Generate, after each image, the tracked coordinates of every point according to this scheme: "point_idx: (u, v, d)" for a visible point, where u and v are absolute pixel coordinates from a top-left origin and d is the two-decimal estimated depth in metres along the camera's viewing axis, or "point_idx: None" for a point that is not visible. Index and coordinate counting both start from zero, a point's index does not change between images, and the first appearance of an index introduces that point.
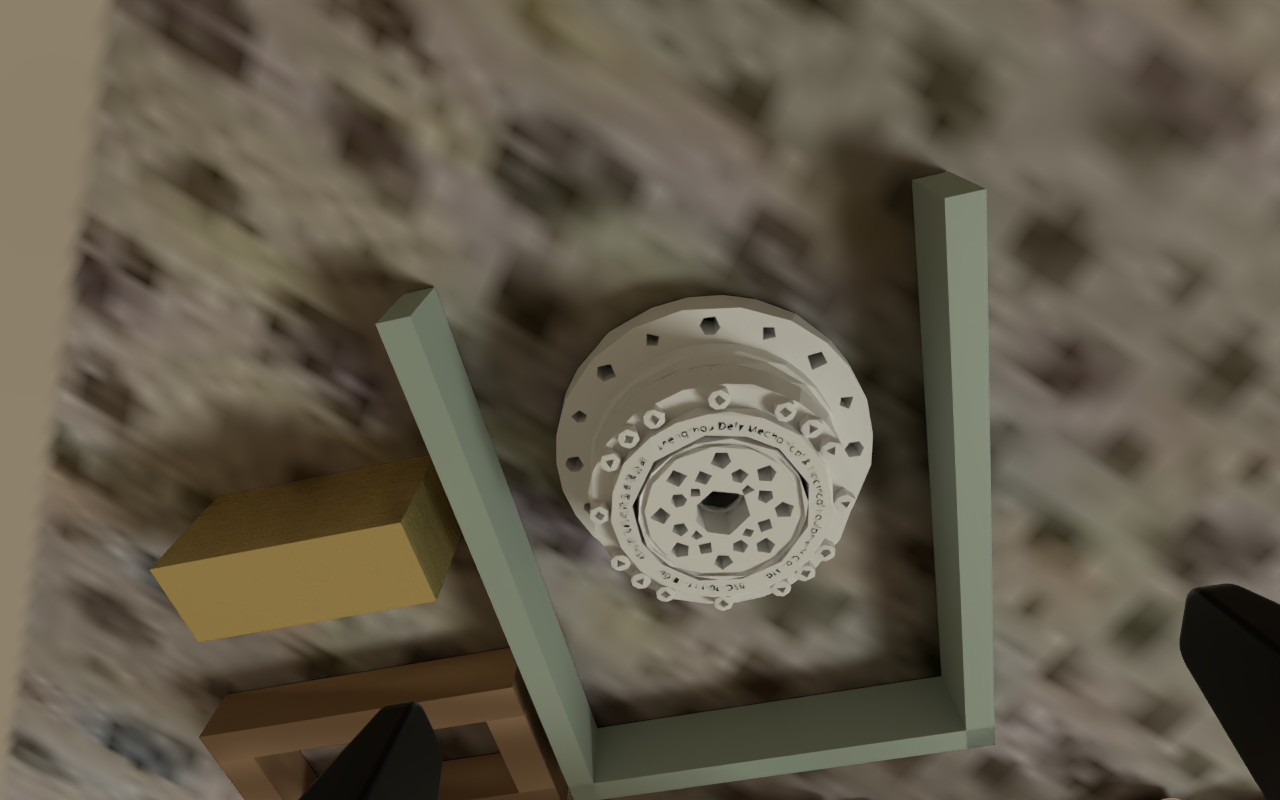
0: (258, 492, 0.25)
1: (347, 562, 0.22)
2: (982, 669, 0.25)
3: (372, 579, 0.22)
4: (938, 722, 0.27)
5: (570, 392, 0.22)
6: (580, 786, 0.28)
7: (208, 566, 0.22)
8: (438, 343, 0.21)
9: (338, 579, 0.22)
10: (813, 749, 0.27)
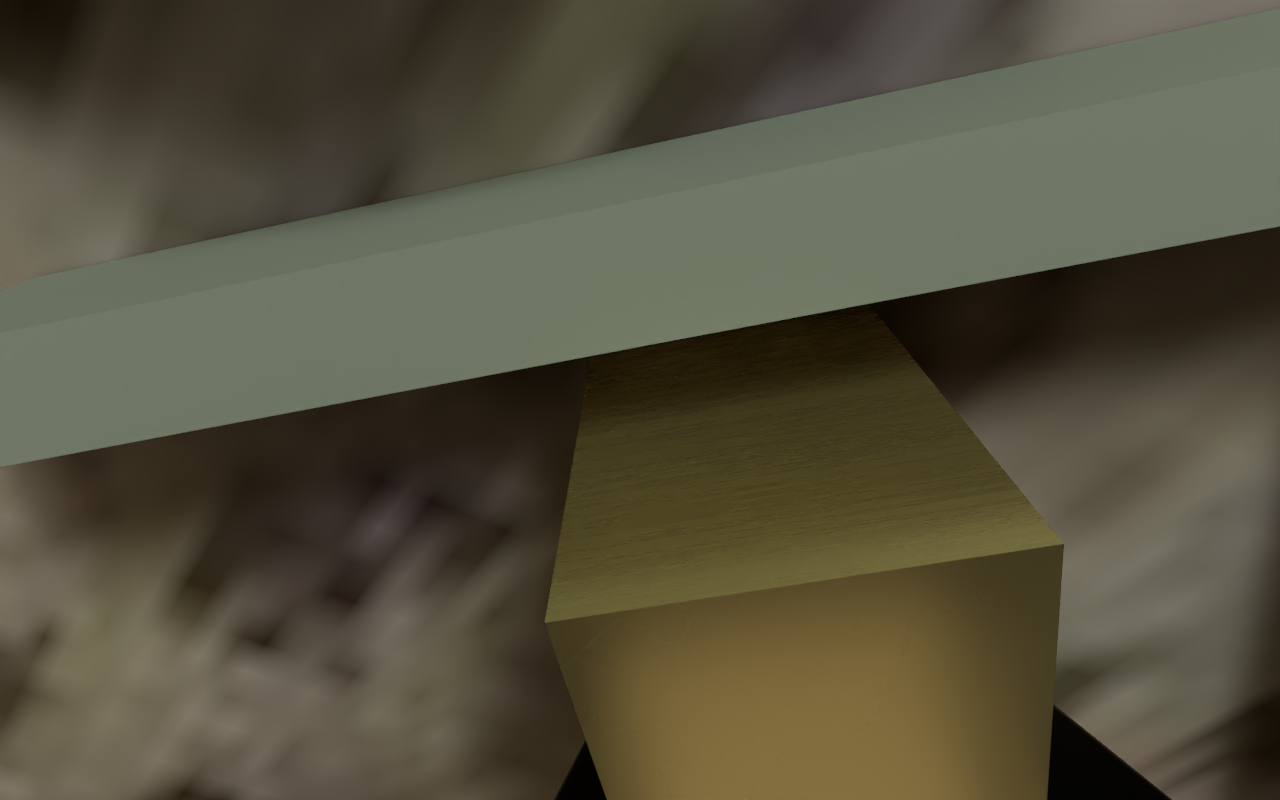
0: None
1: None
2: None
3: (867, 758, 0.05)
4: None
5: None
6: None
7: None
8: (54, 294, 0.06)
9: None
10: None
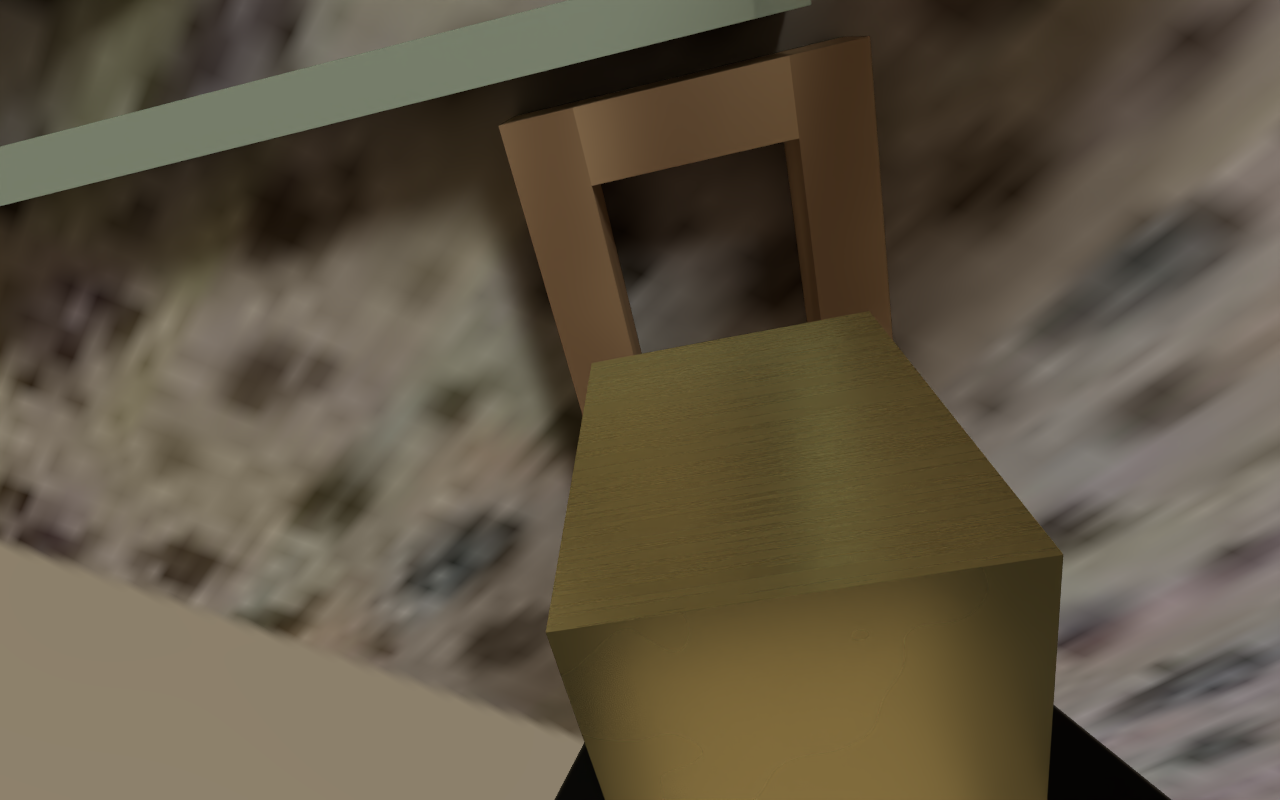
0: None
1: None
2: None
3: (866, 766, 0.05)
4: None
5: None
6: None
7: None
8: None
9: None
10: None
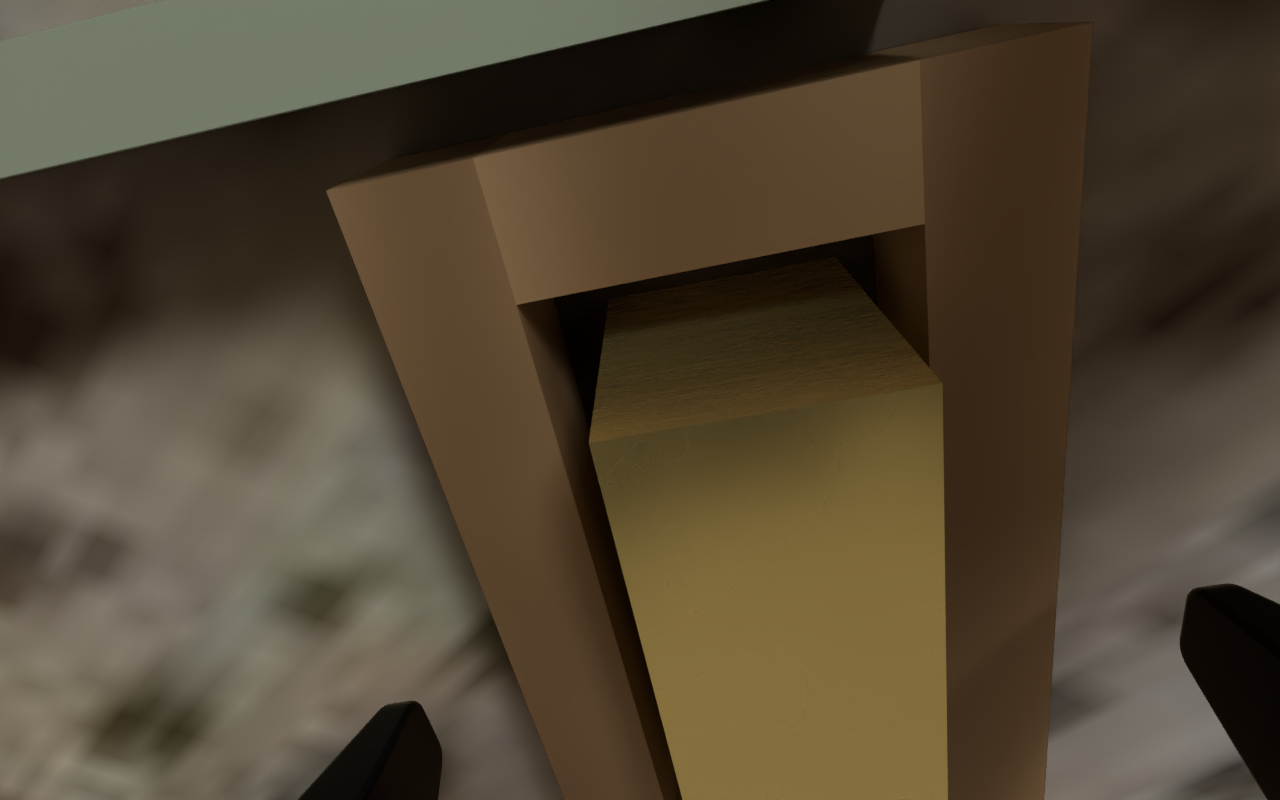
0: None
1: (740, 607, 0.07)
2: None
3: (814, 554, 0.07)
4: None
5: None
6: None
7: None
8: None
9: (799, 637, 0.07)
10: None
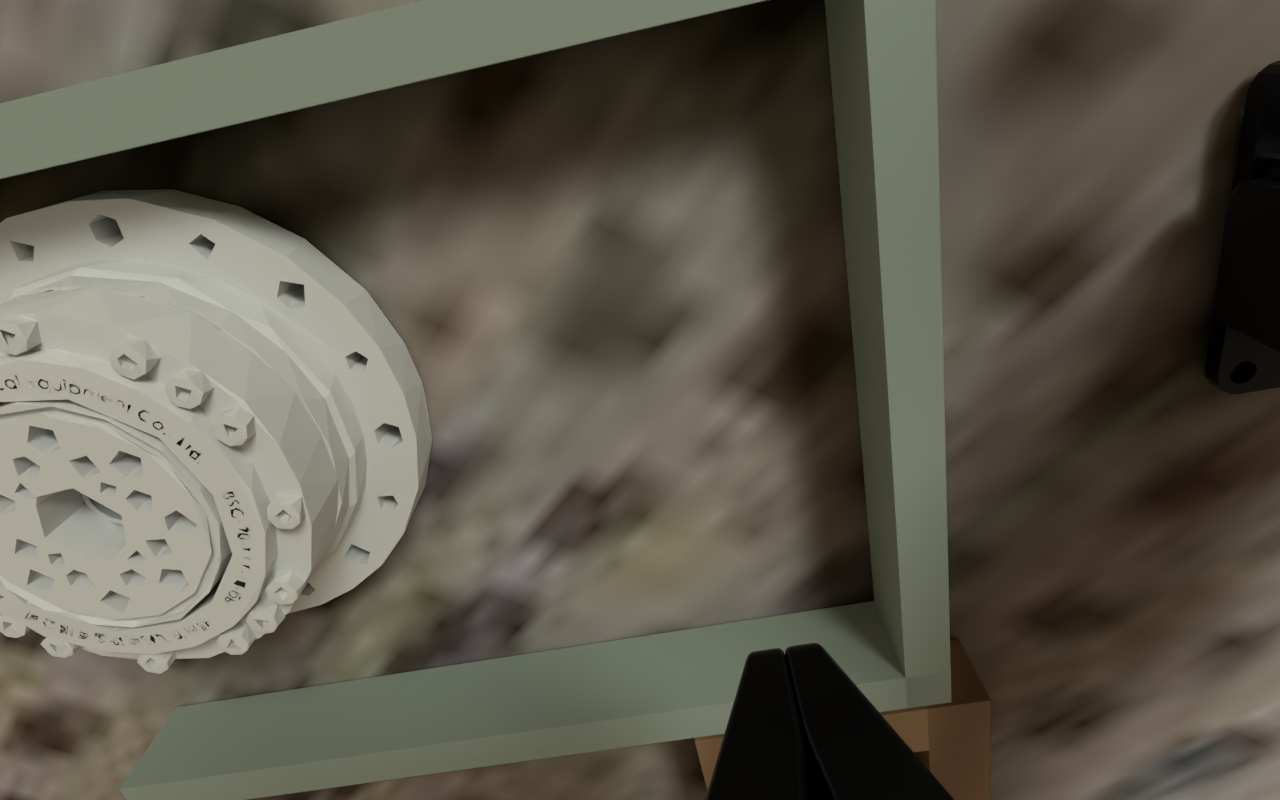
0: None
1: None
2: None
3: None
4: (857, 40, 0.11)
5: None
6: (910, 693, 0.17)
7: None
8: (193, 741, 0.19)
9: None
10: (884, 330, 0.13)
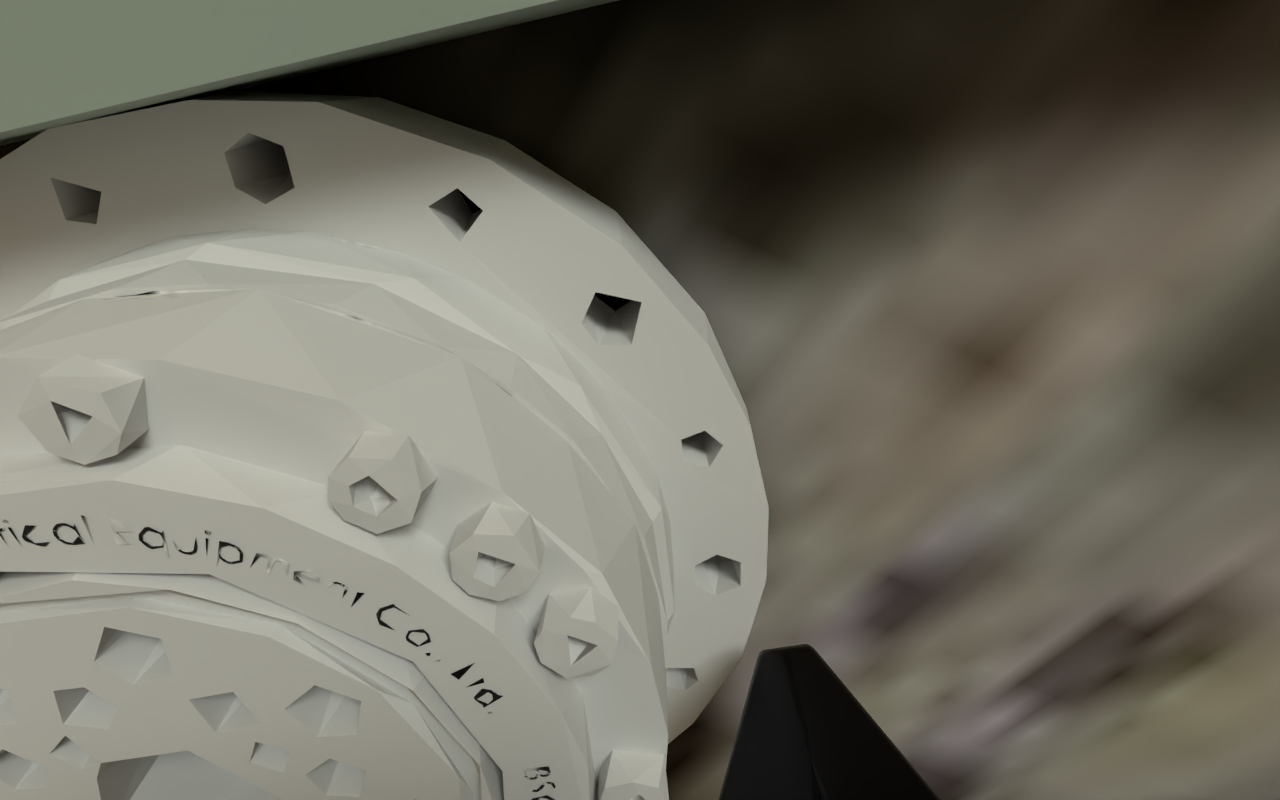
0: None
1: None
2: None
3: None
4: None
5: None
6: None
7: None
8: None
9: None
10: None
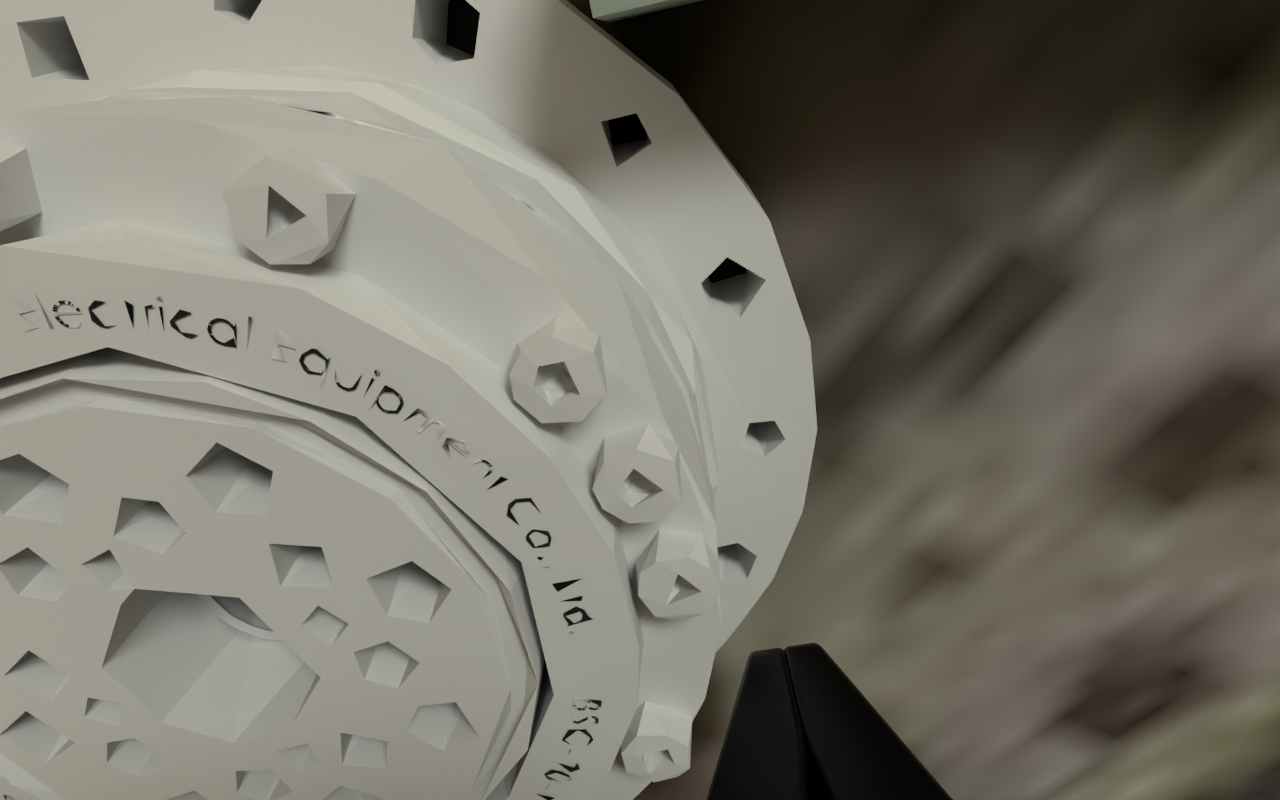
0: None
1: None
2: None
3: None
4: None
5: None
6: None
7: None
8: None
9: None
10: None
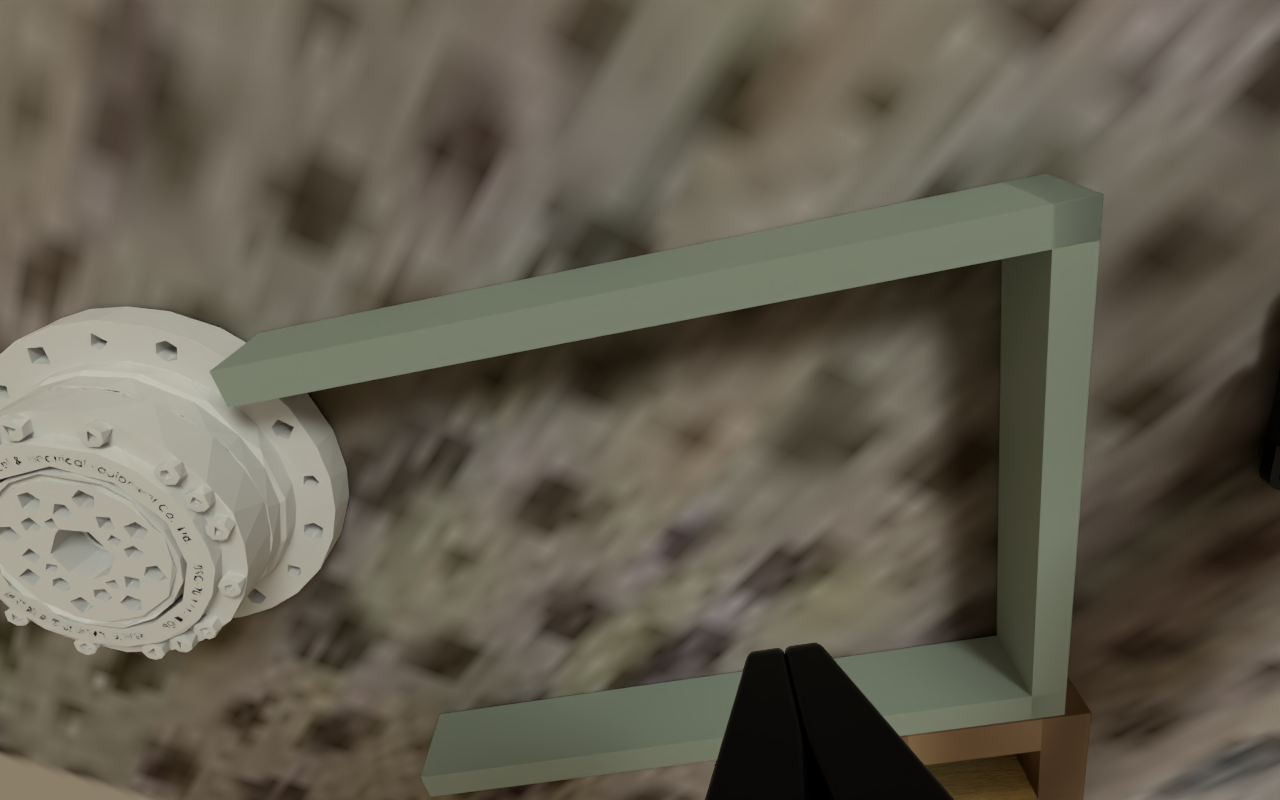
0: None
1: None
2: (912, 247, 0.16)
3: None
4: (1040, 278, 0.17)
5: None
6: (1034, 707, 0.22)
7: None
8: (466, 741, 0.25)
9: None
10: (1041, 458, 0.18)
